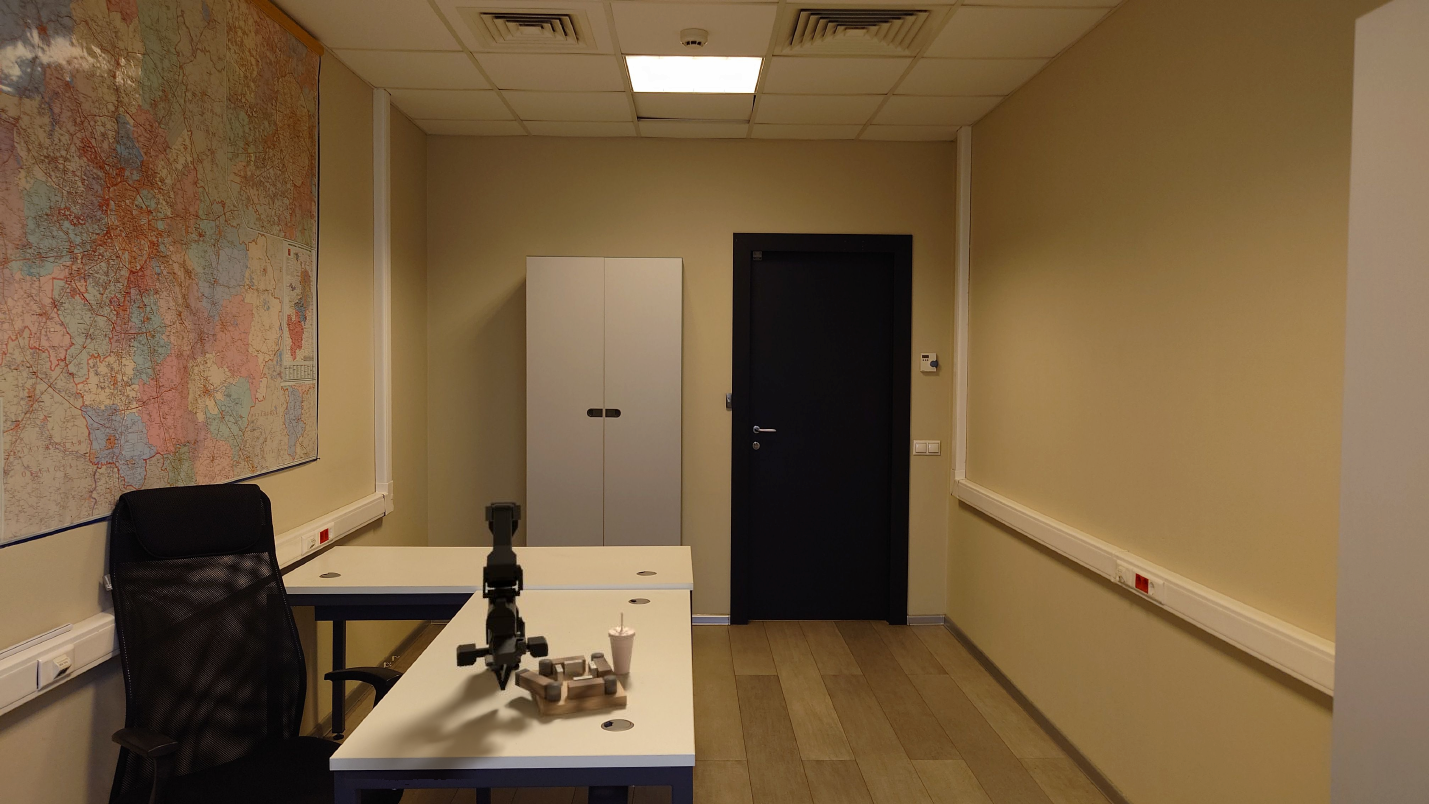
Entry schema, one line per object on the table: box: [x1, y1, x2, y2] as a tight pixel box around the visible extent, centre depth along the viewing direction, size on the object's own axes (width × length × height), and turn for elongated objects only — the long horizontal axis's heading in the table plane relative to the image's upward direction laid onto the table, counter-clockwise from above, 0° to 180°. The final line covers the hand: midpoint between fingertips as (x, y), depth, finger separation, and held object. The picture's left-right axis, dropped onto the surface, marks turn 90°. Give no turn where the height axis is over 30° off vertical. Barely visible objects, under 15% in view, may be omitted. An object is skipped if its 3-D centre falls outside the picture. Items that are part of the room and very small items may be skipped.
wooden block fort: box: [531, 651, 628, 718], centre depth 175 cm, size 18×20×5 cm
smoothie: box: [607, 611, 636, 675], centre depth 186 cm, size 6×6×14 cm
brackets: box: [555, 660, 597, 685], centre depth 175 cm, size 9×11×3 cm
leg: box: [514, 667, 561, 701], centre depth 169 cm, size 13×3×3 cm, turn 50°
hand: (502, 689), depth 168 cm, fingers closed
